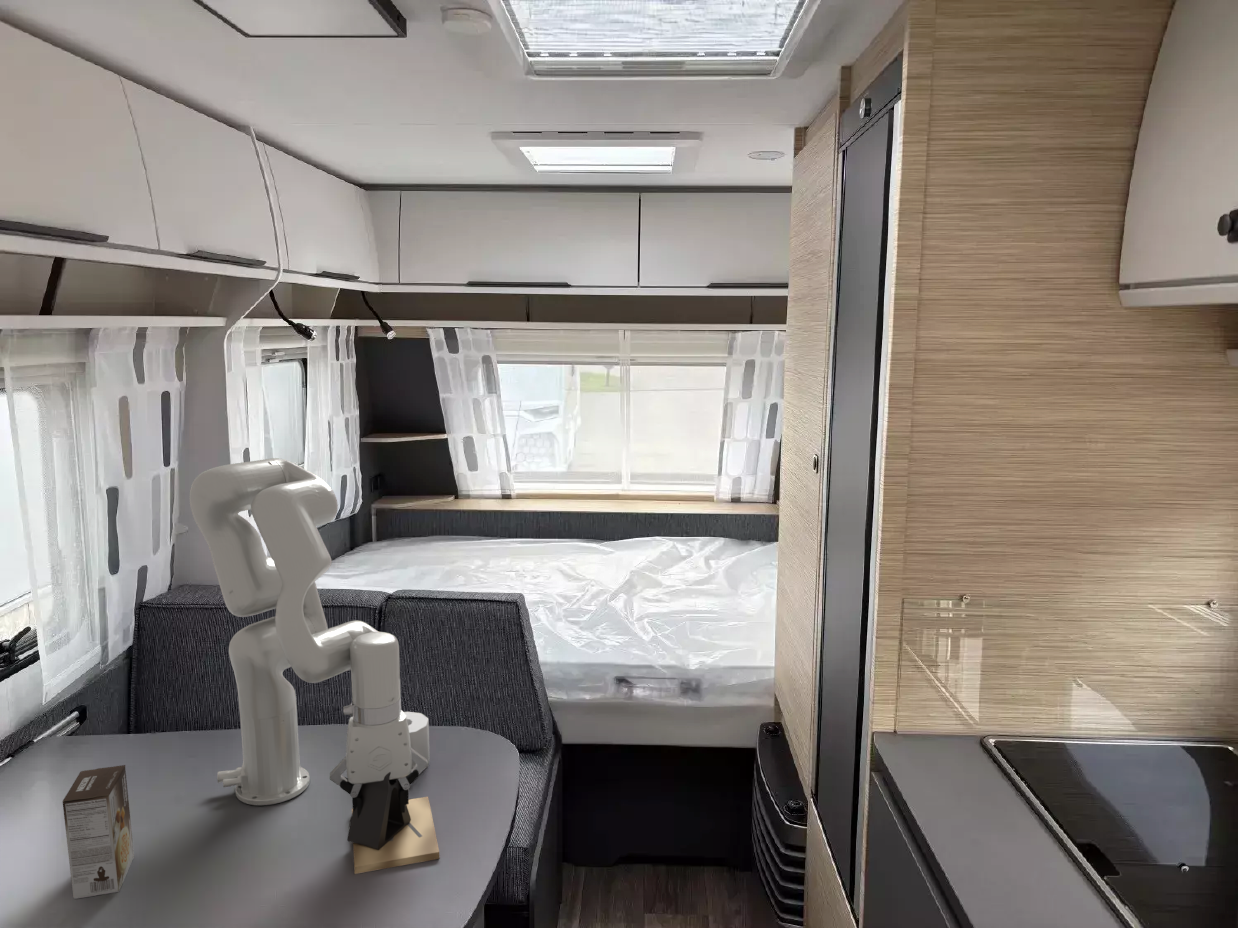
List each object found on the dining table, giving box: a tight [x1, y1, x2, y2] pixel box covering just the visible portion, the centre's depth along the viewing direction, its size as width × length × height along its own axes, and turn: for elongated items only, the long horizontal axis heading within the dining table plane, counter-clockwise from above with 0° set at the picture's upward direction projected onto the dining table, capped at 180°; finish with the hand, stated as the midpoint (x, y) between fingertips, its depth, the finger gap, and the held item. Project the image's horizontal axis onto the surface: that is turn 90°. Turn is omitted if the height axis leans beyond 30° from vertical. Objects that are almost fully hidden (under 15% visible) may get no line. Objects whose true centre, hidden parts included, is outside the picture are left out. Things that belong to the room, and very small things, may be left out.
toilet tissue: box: [403, 711, 431, 770], centre depth 166 cm, size 9×13×9 cm
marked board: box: [351, 796, 441, 875], centre depth 145 cm, size 13×17×1 cm
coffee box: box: [62, 764, 135, 900], centre depth 132 cm, size 9×6×16 cm
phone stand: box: [347, 772, 411, 850], centre depth 143 cm, size 9×6×12 cm, turn 158°
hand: (381, 810), depth 144 cm, fingers open, 6 cm apart
